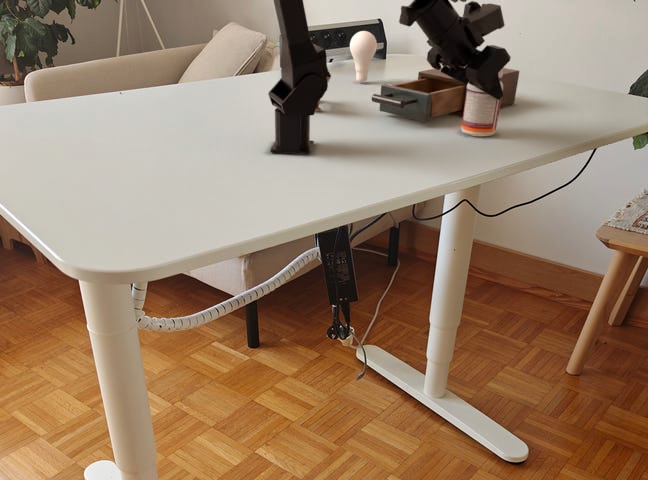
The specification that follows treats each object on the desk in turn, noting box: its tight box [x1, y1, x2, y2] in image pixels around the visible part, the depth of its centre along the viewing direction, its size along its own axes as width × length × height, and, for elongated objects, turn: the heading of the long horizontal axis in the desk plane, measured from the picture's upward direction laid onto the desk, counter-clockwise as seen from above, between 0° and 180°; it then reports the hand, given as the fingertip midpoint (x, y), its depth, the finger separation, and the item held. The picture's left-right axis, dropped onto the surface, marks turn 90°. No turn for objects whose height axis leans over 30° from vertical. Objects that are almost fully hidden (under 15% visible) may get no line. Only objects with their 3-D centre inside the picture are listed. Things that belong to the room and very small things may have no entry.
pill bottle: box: [460, 66, 505, 137], centre depth 119 cm, size 6×6×11 cm
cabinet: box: [417, 66, 520, 118], centre depth 139 cm, size 17×13×7 cm
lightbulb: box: [349, 30, 378, 84], centre depth 156 cm, size 6×6×11 cm
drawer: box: [371, 78, 467, 123], centre depth 131 cm, size 20×11×5 cm, turn 132°
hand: (491, 93), depth 119 cm, fingers closed on pill bottle, 6 cm apart
